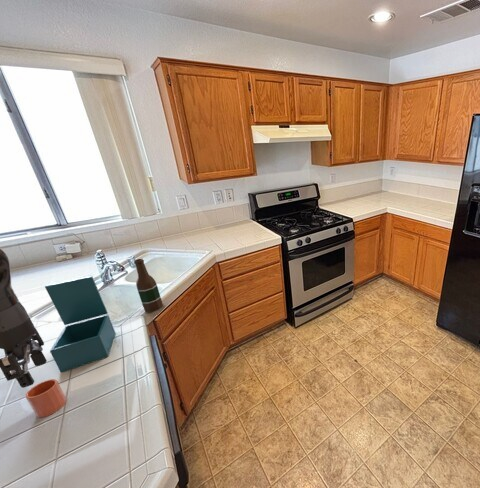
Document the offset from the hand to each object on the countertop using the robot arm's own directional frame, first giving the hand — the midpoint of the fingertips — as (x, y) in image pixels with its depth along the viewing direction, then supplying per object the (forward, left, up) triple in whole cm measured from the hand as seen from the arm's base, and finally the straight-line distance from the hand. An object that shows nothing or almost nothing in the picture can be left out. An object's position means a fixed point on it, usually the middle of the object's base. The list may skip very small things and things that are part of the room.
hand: (35, 374), depth 70 cm
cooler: (+4, +24, -12) cm, 27 cm away
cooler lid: (+4, +31, +6) cm, 31 cm away
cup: (0, 0, -12) cm, 12 cm away
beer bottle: (+23, +45, -12) cm, 52 cm away
